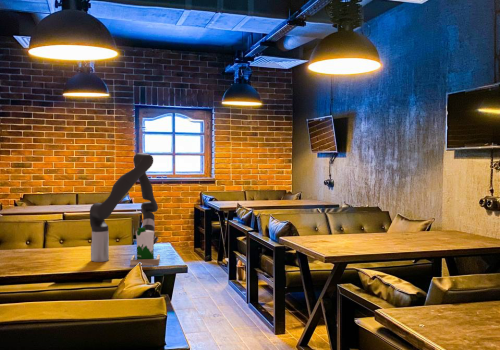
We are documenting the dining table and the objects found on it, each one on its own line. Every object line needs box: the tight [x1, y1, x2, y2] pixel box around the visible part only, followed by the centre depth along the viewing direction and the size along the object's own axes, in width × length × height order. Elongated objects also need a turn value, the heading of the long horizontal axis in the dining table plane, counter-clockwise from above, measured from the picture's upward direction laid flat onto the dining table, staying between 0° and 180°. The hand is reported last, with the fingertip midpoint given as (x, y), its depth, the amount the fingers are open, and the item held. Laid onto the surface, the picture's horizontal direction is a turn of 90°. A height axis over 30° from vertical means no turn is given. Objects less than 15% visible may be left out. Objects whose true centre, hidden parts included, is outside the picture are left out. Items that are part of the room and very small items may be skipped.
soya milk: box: [135, 227, 155, 260], centre depth 279 cm, size 9×9×20 cm
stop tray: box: [129, 253, 161, 267], centre depth 279 cm, size 15×15×3 cm
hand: (147, 250), depth 294 cm, fingers closed
